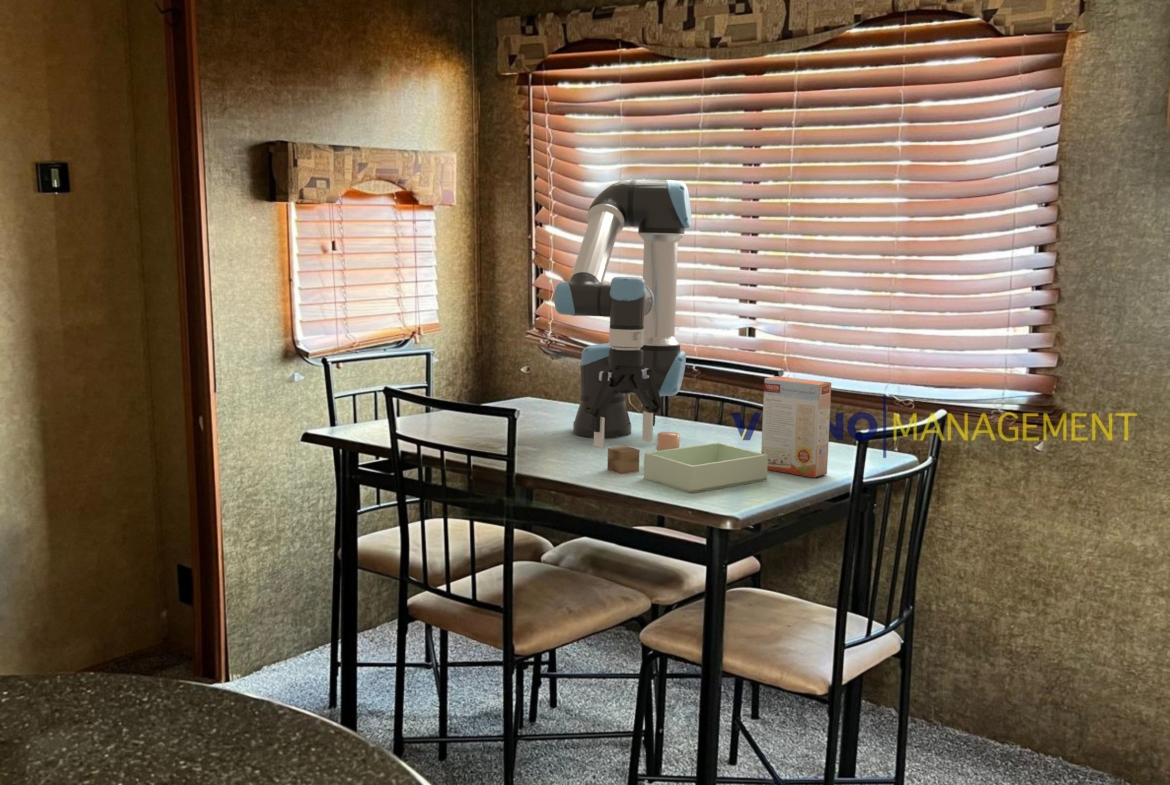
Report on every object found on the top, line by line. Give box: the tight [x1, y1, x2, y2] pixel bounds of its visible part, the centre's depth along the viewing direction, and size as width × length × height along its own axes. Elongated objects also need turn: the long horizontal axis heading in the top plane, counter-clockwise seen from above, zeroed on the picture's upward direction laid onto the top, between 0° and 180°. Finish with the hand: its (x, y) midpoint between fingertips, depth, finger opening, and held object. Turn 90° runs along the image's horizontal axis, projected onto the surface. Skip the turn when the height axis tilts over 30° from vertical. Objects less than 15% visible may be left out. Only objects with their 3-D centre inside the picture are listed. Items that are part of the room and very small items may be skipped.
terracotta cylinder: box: [656, 431, 681, 451], centre depth 256 cm, size 5×5×7 cm
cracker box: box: [760, 375, 832, 479], centre depth 249 cm, size 14×6×21 cm, turn 49°
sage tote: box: [643, 442, 768, 494], centre depth 241 cm, size 16×22×6 cm
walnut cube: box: [606, 445, 641, 475], centre depth 248 cm, size 5×5×5 cm
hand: (623, 443), depth 247 cm, fingers open, 13 cm apart
